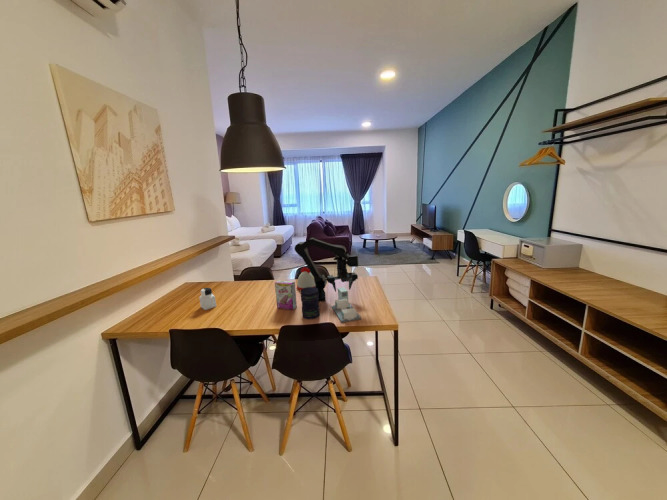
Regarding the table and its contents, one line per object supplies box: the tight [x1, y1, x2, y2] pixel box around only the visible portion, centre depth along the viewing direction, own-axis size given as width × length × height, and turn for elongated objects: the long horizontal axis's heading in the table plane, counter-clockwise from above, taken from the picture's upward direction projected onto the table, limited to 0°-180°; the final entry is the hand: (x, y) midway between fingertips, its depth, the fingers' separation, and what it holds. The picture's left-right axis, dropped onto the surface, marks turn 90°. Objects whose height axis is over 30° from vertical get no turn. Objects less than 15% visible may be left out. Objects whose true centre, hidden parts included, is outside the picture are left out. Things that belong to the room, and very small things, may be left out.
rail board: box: [331, 299, 362, 324], centre depth 150 cm, size 11×20×4 cm, turn 15°
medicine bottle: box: [198, 287, 217, 311], centre depth 167 cm, size 7×7×12 cm
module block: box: [337, 286, 349, 301], centre depth 168 cm, size 4×7×7 cm, turn 15°
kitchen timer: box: [296, 266, 316, 291], centre depth 193 cm, size 14×14×15 cm
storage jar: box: [300, 287, 321, 320], centre depth 149 cm, size 10×10×15 cm
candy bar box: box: [274, 279, 298, 311], centre depth 160 cm, size 11×5×16 cm, turn 71°
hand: (342, 290), depth 168 cm, fingers open, 9 cm apart
